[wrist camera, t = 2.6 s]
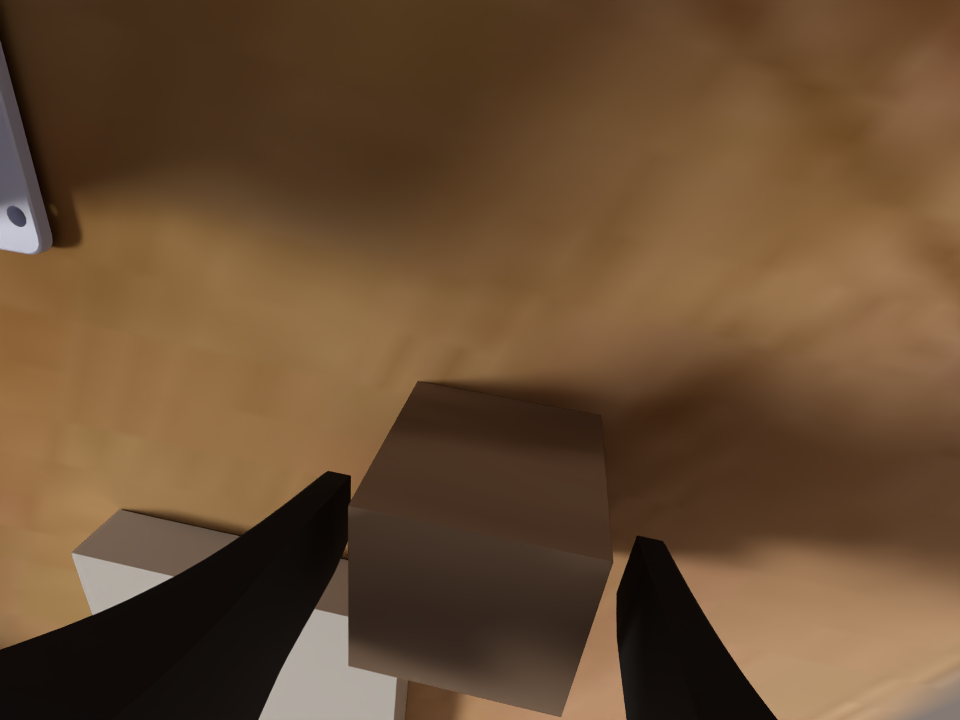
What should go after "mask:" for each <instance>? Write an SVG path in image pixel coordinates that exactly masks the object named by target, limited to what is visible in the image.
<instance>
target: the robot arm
mask: <svg viewBox="0 0 960 720" xmlns="http://www.w3.org/2000/svg"><path fill="white" fill-rule="evenodd" d="M22 212H23V213H24V215H25V217H26V218H25V217H24V215H23V213H22ZM52 243H53V241H52V233H51V230H50V226H49V222H48V218H47V215H46V211H45V207H44V203H43V200H42V196H41V192H40V188H39V184H38V181H37V177H36V173H35V169H34V166H33V162H32V158H31V154H30V150H29V147H28V143H27V139H26V135H25V132H24V128H23V124H22V120H21V117H20V113H19V109H18V105H17V101H16V98H15V94H14V90H13V86H12V83H11V79H10V75H9V71H8V68H7V64H6V60H5V56H4V52H3V49H2V45H1V41H0V249H2V250H7V251H13V252H19V253H24V254H38V253H42V252H45V251H47V250H49V249H50V248H51V246H52ZM350 501H351V476H350V475H345V474H340V473H336V472H331V471H327V472H326V473H324V474H323V475H321V476H320V477H319V478H318V479H316V480H315V481H314V482H312V483H311V484H310V485H309V486H307V487H306V488H305V489H304V490H302V491H301V492H300V493H299V494H297V495H296V496H295V497H293V498H292V499H291V500H290V501H288V502H287V503H286V504H284V505H283V506H282V507H280V508H279V509H278V510H276V511H275V512H274V513H272V514H271V515H270V516H268V517H267V518H265V519H264V520H263V521H261V522H260V523H259V524H257V525H256V526H254V527H253V528H252V529H250V530H249V531H247V532H246V533H244V534H243V535H241V536H240V537H238V538H237V539H235V540H234V541H232V542H231V543H229V544H228V545H226V546H225V547H223V548H222V549H220V550H219V551H217V552H215V553H214V554H212V555H211V556H209V557H207V558H206V559H204V560H202V561H201V562H199V563H197V564H195V565H194V566H192V567H190V568H188V569H187V570H185V571H183V572H181V573H180V574H178V575H176V576H174V577H172V578H170V579H168V580H166V581H164V582H162V583H160V584H158V585H156V586H154V587H152V588H150V589H148V590H146V591H144V592H142V593H140V594H138V595H136V596H134V597H132V598H130V599H128V600H126V601H124V602H122V603H119V604H117V605H115V606H113V607H110V608H108V609H106V610H104V611H101V612H99V613H96V614H94V615H92V616H89V617H87V618H85V619H82V620H80V621H77V622H75V623H72V624H70V625H67V626H65V627H62V628H60V629H57V630H54V631H51V632H49V633H46V634H43V635H40V636H38V637H35V638H32V639H29V640H27V641H24V642H21V643H18V644H16V645H13V646H10V647H7V648H4V649H1V650H0V720H259V717H260V715H261V713H262V711H263V708H264V706H265V704H266V702H267V700H268V697H269V695H270V693H271V691H272V688H273V686H274V684H275V682H276V679H277V677H278V675H279V673H280V671H281V669H282V667H283V665H284V663H285V661H286V659H287V657H288V655H289V654H290V652H291V650H292V648H293V646H294V645H295V643H296V641H297V639H298V638H299V636H300V634H301V632H302V630H303V629H304V627H305V625H306V623H307V622H308V620H309V618H310V616H311V614H312V613H313V611H314V609H315V607H316V606H317V604H318V602H319V600H320V598H321V597H322V595H323V593H324V591H325V589H326V588H327V586H328V584H329V582H330V580H331V579H332V577H333V575H334V573H335V571H336V569H337V566H338V564H339V562H340V559H341V557H342V554H343V552H344V549H345V547H346V545H347V542H348V505H349V503H350ZM616 619H617V643H618V652H619V661H620V669H621V678H622V686H623V694H624V702H625V710H626V719H627V720H778V719H777V718H776V717H775V716H774V714H773V713H772V712H771V711H770V709H769V708H768V707H767V705H766V704H765V703H764V701H763V700H762V699H761V698H760V696H759V695H758V694H757V692H756V691H755V690H754V688H753V687H752V685H751V684H750V683H749V681H748V680H747V679H746V677H745V676H744V674H743V673H742V671H741V670H740V669H739V667H738V666H737V664H736V663H735V661H734V660H733V658H732V657H731V655H730V654H729V652H728V651H727V649H726V648H725V646H724V645H723V643H722V642H721V640H720V639H719V637H718V635H717V634H716V632H715V631H714V629H713V627H712V626H711V624H710V623H709V621H708V619H707V618H706V616H705V614H704V613H703V611H702V609H701V608H700V606H699V604H698V603H697V601H696V599H695V598H694V596H693V594H692V592H691V591H690V589H689V587H688V585H687V584H686V582H685V580H684V578H683V576H682V575H681V573H680V571H679V569H678V567H677V565H676V564H675V562H674V560H673V558H672V556H671V554H670V552H669V551H668V549H667V547H666V545H665V544H664V542H663V541H660V540H656V539H651V538H646V537H641V536H637V537H636V540H635V543H634V545H633V548H632V551H631V554H630V557H629V560H628V562H627V565H626V568H625V571H624V574H623V576H622V579H621V582H620V585H619V588H618V591H617V608H616Z"/></svg>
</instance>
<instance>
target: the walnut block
mask: <svg viewBox="0 0 960 720" xmlns="http://www.w3.org/2000/svg"><path fill="white" fill-rule="evenodd" d="M612 564H613V552H612V541H611V529H610V517H609V505H608V493H607V482H606V470H605V458H604V446H603V434H602V422H601V415H596V414H591V413H586V412H580V411H575V410H569V409H564V408H559V407H553V406H548V405H542V404H537V403H532V402H526V401H521V400H516V399H510V398H505V397H499V396H494V395H489V394H483V393H478V392H473V391H467V390H462V389H456V388H451V387H446V386H440V385H435V384H430V383H424V382H419V381H418V382H417V383H416V385H415V387H414V389H413V391H412V392H411V394H410V396H409V398H408V400H407V401H406V403H405V405H404V407H403V408H402V410H401V412H400V414H399V416H398V417H397V419H396V421H395V423H394V425H393V426H392V428H391V430H390V432H389V433H388V435H387V437H386V439H385V441H384V442H383V444H382V446H381V448H380V450H379V451H378V453H377V455H376V457H375V459H374V460H373V462H372V464H371V466H370V467H369V469H368V471H367V473H366V475H365V476H364V478H363V480H362V482H361V484H360V485H359V487H358V489H357V491H356V493H355V494H354V496H353V498H352V500H351V501H350V503H349V505H348V666H350V667H354V668H359V669H363V670H367V671H371V672H375V673H379V674H383V675H388V676H392V677H396V678H400V679H404V680H408V681H413V682H417V683H421V684H425V685H429V686H433V687H438V688H442V689H446V690H450V691H454V692H458V693H462V694H467V695H471V696H475V697H479V698H483V699H487V700H492V701H496V702H500V703H504V704H508V705H512V706H516V707H521V708H525V709H529V710H533V711H537V712H541V713H546V714H550V715H554V716H558V717H561V716H562V713H563V710H564V707H565V704H566V701H567V698H568V695H569V692H570V689H571V686H572V683H573V680H574V677H575V674H576V671H577V668H578V665H579V662H580V659H581V656H582V653H583V650H584V647H585V644H586V641H587V638H588V636H589V633H590V630H591V627H592V624H593V621H594V618H595V615H596V612H597V609H598V606H599V603H600V600H601V597H602V594H603V591H604V588H605V585H606V582H607V579H608V576H609V573H610V570H611V567H612Z"/></svg>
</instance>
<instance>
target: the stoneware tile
mask: <svg viewBox="0 0 960 720" xmlns="http://www.w3.org/2000/svg"><path fill="white" fill-rule="evenodd" d="M238 537H240V536H236V535H232V534H227V533H223V532H218V531H214V530H209V529H205V528H200V527H196V526H191V525H186V524H182V523H177V522H173V521H168V520H164V519H159V518H155V517H150V516H146V515H141V514H137V513H132V512H128V511H123V510H118V511H117V512H116V513H115V514H114V515H113V516H111V517H110V518H109V519H108V520H107V521H106V522H105V523H104V524H103V525H101V526H100V527H99V528H98V529H97V530H96V531H95V532H94V533H93V534H91V535H90V536H89V537H88V538H87V539H86V540H85V541H84V542H82V543H81V544H80V545H79V546H78V547H77V548H76V549H75V550H74V551H72V552H71V554H72V557H73V560H74V563H75V565H76V568H77V571H78V574H79V577H80V580H81V583H82V586H83V589H84V591H85V594H86V597H87V600H88V603H89V606H90V609H91V612H92V614H93V615H94V614H96V613H99V612H101V611H104V610H106V609H108V608H110V607H113V606H115V605H117V604H119V603H122V602H124V601H126V600H128V599H130V598H132V597H134V596H136V595H138V594H140V593H142V592H144V591H146V590H148V589H150V588H152V587H154V586H156V585H158V584H160V583H162V582H164V581H166V580H168V579H170V578H172V577H174V576H176V575H178V574H180V573H181V572H183V571H185V570H187V569H188V568H190V567H192V566H194V565H195V564H197V563H199V562H201V561H202V560H204V559H206V558H207V557H209V556H211V555H212V554H214V553H215V552H217V551H219V550H220V549H222V548H223V547H225V546H226V545H228V544H229V543H231V542H232V541H234V540H235V539H237V538H238ZM407 690H408V680H404V679H400V678H396V677H392V676H388V675H383V674H379V673H375V672H371V671H367V670H363V669H359V668H354V667H350V666H348V560H345V559H340V562H339V564H338V566H337V569H336V571H335V573H334V575H333V577H332V579H331V580H330V582H329V584H328V586H327V588H326V589H325V591H324V593H323V595H322V597H321V598H320V600H319V602H318V604H317V606H316V607H315V609H314V611H313V613H312V614H311V616H310V618H309V620H308V622H307V623H306V625H305V627H304V629H303V630H302V632H301V634H300V636H299V638H298V639H297V641H296V643H295V645H294V646H293V648H292V650H291V652H290V654H289V655H288V657H287V659H286V661H285V663H284V665H283V667H282V669H281V671H280V673H279V675H278V677H277V679H276V682H275V684H274V686H273V688H272V691H271V693H270V695H269V697H268V700H267V702H266V704H265V706H264V708H263V711H262V713H261V715H260V717H259V720H405V712H406V701H407Z"/></svg>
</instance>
